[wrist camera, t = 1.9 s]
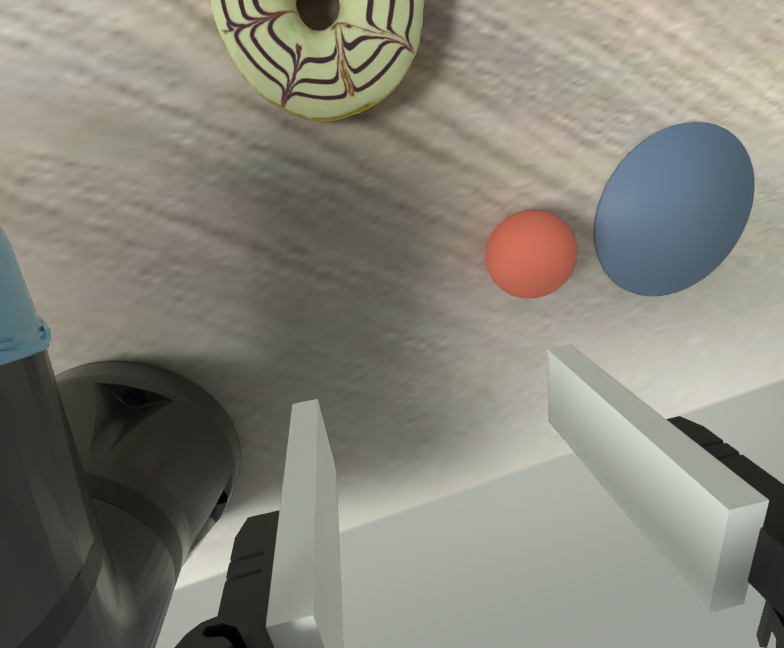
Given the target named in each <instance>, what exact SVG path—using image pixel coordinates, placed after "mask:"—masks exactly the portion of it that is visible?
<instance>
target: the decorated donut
mask: <svg viewBox="0 0 784 648" xmlns="http://www.w3.org/2000/svg"><path fill="white" fill-rule="evenodd" d="M296 1H297V0H211V10H212V13H213V16H214V19H215V22H216V26H217V28H218V31H219V33H220V35H221V37H222V39H223V41H224V44H225V46H226V48H227V50H228V52H229V54H230V56H231V58H232V60H233V62H234V64H235V65H236V67H237V68H238V70H239V71H240V72H241V74H242V75H243V77H244V78H245V79H246V80H247V81H248V83H249V84H250V85H251V86H252V87H253V88H254V89H255V90H256V92H258V93H259V94H260V95H261V96H262V97H263V98H265V99H266V100H268V101H269V102H270V103H272V104H274V105H276V106H277V107H279V108H281V109H283V110H285V111H287V112H289V113H291V114H293V115H296V116H299V117H301V118H304V119H308V120H313V121H318V122H330V121H336V120H340V119H343V118H346V117H349V116H351V115H355V114H359V113H361V112H362V111H366V110H367V109H369V108H371V107H372V106H374V105H376V104H378V103H379V102H381V101H382V100H383V99H384V98H386V97H387V96H388V95H389V94H391V92H393V91H394V90H395V89H396V87H397V86H398V85H399V83H400V81H401V80H402V78H403V77H404V75H405V74H406V72H407V70H408V69H409V67H410V65H411V63H412V60H413V59H414V57H415V55H416V53H417V50H418V47H419V44H420V34H421V29H422V25H423V9H424V1H425V0H339V4H340V10H339V13H338V18H337V19H336V21H335V22H334V23H333V24H332V25H331V26H329V27H328V28H327V29H325V30H322V31H316V30H312V29H311V28H309V27H308V26H306V25H305V24H304V22H303V21H302V20H301V18H300V14H299V13H298V11H297V7H296Z"/></svg>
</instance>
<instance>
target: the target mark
mask: <svg viewBox="0 0 784 648" xmlns="http://www.w3.org/2000/svg"><path fill="white" fill-rule="evenodd" d="M753 195H754V175H753V168H752V165H751V161H750V158H749V156H748V154H747V152H746V150H745V148H744V147H743V145H742V144H741V142H740V141H739V140H738V139H737V138H736V137H735V136H734V135H733V134H731V133H730V132H729V131H727V130H726V129H724V128H721V127H719V126H717V125H713V124H709V123H699V122H693V123H683V124H679V125H675V126H671V127H668V128H666V129H663V130H661V131H659V132H657V133H655V134H654V135H652V136H650V137H648V138H647V139H646V140H644V141H643V142H641V143H640V144H639V145H638V146H637V147H635V148H634V149H633V150H632V151H631V152H630V153H629V154H628V155H627V156H626V157H625V158H624V160H623V161H622V162H621V163H620V164H619V166H618V167H617V168H616V170H615V171H614V173H613V174H612V176H611V178H610V179H609V181H608V183H607V185H606V187H605V189H604V191H603V194H602V196H601V199H600V202H599V205H598V208H597V213H596V218H595V228H594V237H595V246H596V252H597V255H598V258H599V261H600V263H601V265H602V267H603V269H604V270H605V272H606V273H607V275H608V276H609V277H610V278H611V279H612V280H613V281H614V282H615V283H616V284H618V285H619V286H620V287H622V288H624V289H626V290H628V291H630V292H632V293H636V294H639V295H645V296H661V295H668V294H672V293H675V292H678V291H681V290H683V289H686V288H688V287H690V286H692V285H694V284H696V283H697V282H699V281H700V280H702V279H703V278H705V277H706V276H707V275H708V274H710V273H711V272H712V271H713V270H714V269H715V268H716V267H717V266H718V265H720V264H721V263H722V261H723V260H724V259H725V258H726V257H727V256H728V254H729V253H730V252H731V250H732V249H733V247H734V246H735V245H736V243H737V241H738V239H739V238H740V236H741V234H742V232H743V230H744V228H745V225H746V223H747V220H748V217H749V214H750V211H751V207H752V202H753Z"/></svg>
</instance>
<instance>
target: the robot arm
mask: <svg viewBox="0 0 784 648" xmlns="http://www.w3.org/2000/svg"><path fill="white" fill-rule="evenodd" d="M50 340H51V332H50V329H49V326H48V324H47V323H46V322H45V321H44V320H43V319H41V318H40V317H39V316H38V315H37V313H36V310H35V308H34V305H33V302H32V300H31V297H30V294H29V292H28V289H27V286H26V284H25V281H24V278H23V276H22V273H21V270H20V268H19V265H18V262H17V260H16V257H15V254H14V252H13V249H12V246H11V244H10V242H9V240H8V238H7V236H6V234H5V232H4V231H3V230H2V229H1V227H0V648H155V646H156V642H157V640H158V637H159V634H160V631H161V628H162V625H163V622H164V619H165V616H166V612H167V609H168V607H169V604H170V600H171V598H172V594H173V591H174V588H175V585H176V582H177V579H178V576H179V573H180V571H181V568H182V566H183V565H184V564H185V562H186V561H187V560H188V558H189V557H190V556H191V554H192V553H193V552H194V551H195V549H196V548H197V547H198V545H199V544H200V543H201V541H202V540H203V539H204V537H205V536H206V535H207V534H208V532H209V531H210V530H211V528H212V527H213V526H214V525H215V523H216V522H217V521H218V519H219V518H220V517H221V515H222V514H223V512H224V511H225V509H226V507H227V505H228V503H229V501H230V499H231V497H232V494H233V491H234V488H235V484H236V480H237V476H238V473H239V468H240V460H241V453H240V444H239V440H238V436H237V433H236V430H235V428H234V426H233V424H232V422H231V420H230V418H229V417H228V415H227V414H226V412H225V411H224V410H223V409H222V407H221V406H220V405H219V404H218V403H217V402H216V401H215V400H214V399H213V398H212V397H211V396H210V395H209V394H208V393H206V392H205V391H204V390H202V389H201V388H200V387H198V386H197V385H195V384H194V383H192V382H190V381H188V380H187V379H185V378H183V377H181V376H178V375H176V374H174V373H171V372H169V371H166V370H163V369H160V368H156V367H152V366H148V365H143V364H137V363H128V362H103V363H95V364H89V365H84V366H80V367H76V368H73V369H70V370H67V371H65V372H62V373H60V374H58V375H56V376H54V372H53V369H52V365H51V362H50V358H49V355H48V351H47V347H49V342H50ZM548 399H549V422H550V423H551V425H552V426H553V427H554V428H555V429H556V431H557V432H558V433H559V434H560V435H561V437H562V438H563V439H564V440H565V441H566V443H567V444H568V445H569V446H570V447H571V449H572V450H573V451H574V452H575V453H576V455H577V456H578V457H579V458H580V459H581V461H582V462H583V463H584V464H585V465H586V466H587V468H588V469H589V470H590V471H591V473H592V474H593V475H594V476H595V477H596V479H597V480H598V481H599V482H600V483H601V485H602V486H603V487H604V488H605V489H606V491H607V492H608V493H609V494H610V495H611V496H612V498H613V499H614V500H615V501H616V503H617V504H618V505H619V506H620V507H621V509H622V510H623V511H624V512H625V513H626V515H627V516H628V517H629V518H630V519H631V521H632V522H633V523H634V524H635V525H636V527H637V528H638V529H639V530H640V531H641V533H642V534H643V535H644V536H645V537H646V539H647V540H648V541H649V542H650V543H651V545H652V546H653V547H654V548H655V549H656V551H657V552H658V553H659V554H660V555H661V557H662V558H663V559H664V560H665V561H666V563H667V564H668V565H669V566H670V567H671V568H672V570H673V571H674V572H675V573H676V574H677V576H678V577H679V578H680V579H681V581H682V582H683V583H684V584H685V585H686V587H687V588H688V589H689V590H690V591H691V592H692V594H693V595H694V596H695V597H696V599H697V600H698V601H699V602H700V603H701V605H702V606H703V607H704V608H705V609H706V610H707V612H708V613H711V612H714V611H718V610H722V609H726V608H729V607H733V606H737V605H741V604H743V603H744V600H745V597H746V593H747V589H748V585H749V583H750V584H751V585H752V586H753V587H754V588H755V589H756V590H757V591H758V592H759V593H760V594H761V595H762V596H763V597H764V598H765V599H766V602H765V606H764V610H763V613H762V617H761V620H760V624H759V627H758V631H757V638H758V642H759V645H760V647H765V648H766V647H767V645H768V642H769V639H770V635H771V632H773V634H774V636H775V638H776V648H784V484H782V483H781V482H780V481H778V480H777V479H775V478H774V477H772V476H771V475H770V474H768V473H767V472H766V471H764V470H763V469H762V468H760V467H759V466H757V465H756V464H755V463H753V462H752V461H751V460H749V459H748V458H746V457H745V456H744V455H740V454H739V452H738V451H737V450H735V449H734V448H733V447H731V446H730V445H729V444H727V443H725V444H724V443H723V440H722V439H720V438H719V437H717V436H716V435H715V434H713V433H712V432H711V431H709V430H708V429H706V428H705V427H704V426H702V425H699V424H696V423H694V422H692V421H690V420H687V419H685V418H683V417H680V416H678V417H674V418H670V419H665V418H664V417H662V416H661V415H660V414H659V413H657V412H656V411H655V410H653V409H652V408H651V407H650V406H648V405H647V404H646V403H645V402H643V401H642V400H641V399H639V398H638V397H637V396H636V395H634V394H633V393H632V392H631V391H629V390H628V389H627V388H625V387H624V386H623V385H622V384H620V383H619V382H618V381H616V380H615V379H614V378H613V377H611V376H610V375H609V374H608V373H606V372H605V371H604V370H602V369H601V368H600V367H599V366H597V365H596V364H595V363H594V362H592V361H591V360H590V359H588V358H587V357H586V356H585V355H583V354H582V353H581V352H579V351H578V350H577V349H576V348H574V347H573V346H572V345H567V346H562V347H557V348H553V349H548ZM230 559H231V563H229V567H228V572H227V576H226V577H227V581H226V582H225V585H224V589H223V594H222V598H221V603H220V607H219V612H218V616H217V617H215V618H212V619H209V620H207V621H204V622H202V623H200V624H199V625H198V626H196V627H195V628H194V629H192V630H191V631H190V632H189V633H187V634H186V635H185V636H184V637H183V638H182V640H181V641H180V642H179V643H178V644H177V646H176V647H175V648H344V640H343V617H342V595H341V570H340V547H339V523H338V499H337V476H336V467H335V463H334V459H333V455H332V452H331V448H330V444H329V440H328V436H327V433H326V429H325V425H324V421H323V417H322V413H321V410H320V406H319V402H318V399H314V400H309V401H304V402H300V403H295V404H292V411H291V420H290V428H289V437H288V445H287V453H286V462H285V470H284V479H283V487H282V495H281V504H280V510H278V511H274V512H270V513H266V514H261V515H257V516H253V517H248V518H247V520H246V522H245V523H244V525H243V526H242V528H241V529H240V531H239V533H238V534H237V536H236V537H235V541H234V545H233V550H232V554H231V558H230Z"/></svg>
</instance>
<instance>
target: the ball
mask: <svg viewBox="0 0 784 648" xmlns="http://www.w3.org/2000/svg"><path fill="white" fill-rule="evenodd" d="M576 259H577V246H576V241H575V238H574V235H573V233H572V231H571V230H570V228H569V227H568V226H567V224H566V223H565V222H564V221H562V220H561V219H560V218H558V217H557V216H555V215H553V214H551V213H548V212H545V211H539V210H528V211H522V212H518V213H516V214H513V215H512V216H510V217H508V218H506V219H505V220H504V221H502V222H501V223H500V224H499V225H498V226H497V227H496V228H495V230H494V231H493V233H492V234H491V236H490V238H489V241H488V244H487V248H486V265H487V269H488V271H489V274H490V276H491V278H492V279H493V281H494V282H495V283H496V284H497V285H498V286H499V287H500V288H501V289H502V290H504V291H505V292H507V293H509V294H511V295H513V296H517V297H521V298H538V297H542V296H545V295H548V294H550V293H552V292H554V291H555V290H557V289H558V288H560V287H561V286H562V285H563V284H564V283H565V282H566V281H567V279H568V278H569V277H570V275H571V273H572V271H573V269H574V266H575V263H576Z"/></svg>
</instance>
